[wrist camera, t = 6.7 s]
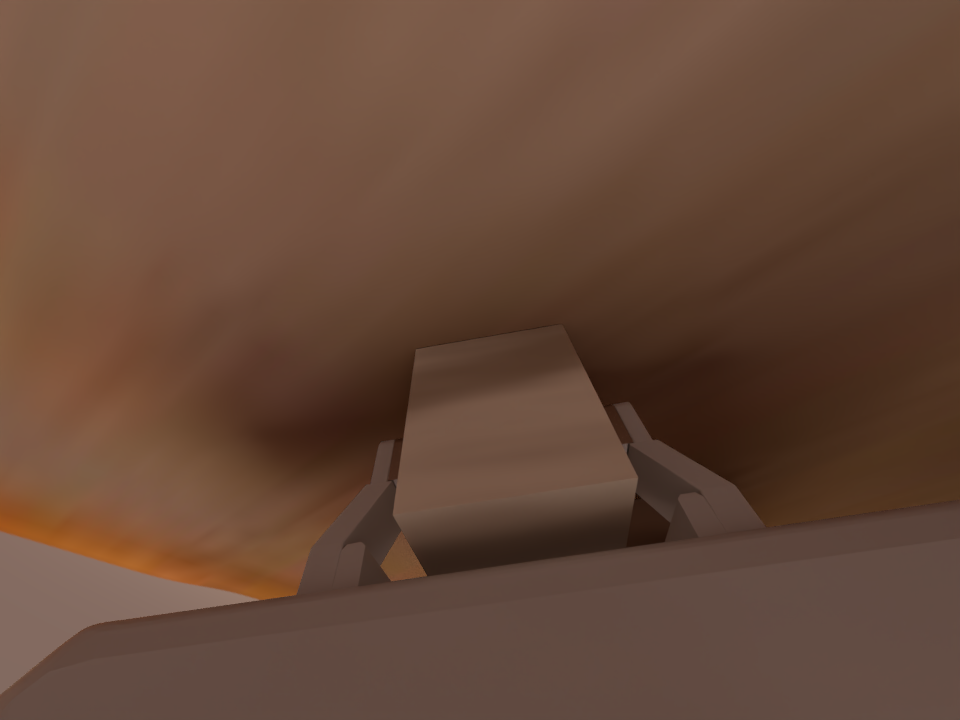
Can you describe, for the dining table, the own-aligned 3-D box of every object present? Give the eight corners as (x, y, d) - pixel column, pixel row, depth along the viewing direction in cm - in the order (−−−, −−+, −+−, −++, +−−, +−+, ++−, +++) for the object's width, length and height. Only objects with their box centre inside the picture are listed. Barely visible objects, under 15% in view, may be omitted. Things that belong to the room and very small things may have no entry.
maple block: (415, 349, 12) (392, 515, 7) (562, 323, 12) (638, 477, 7) (447, 444, 15) (445, 607, 10) (564, 425, 15) (620, 583, 10)
